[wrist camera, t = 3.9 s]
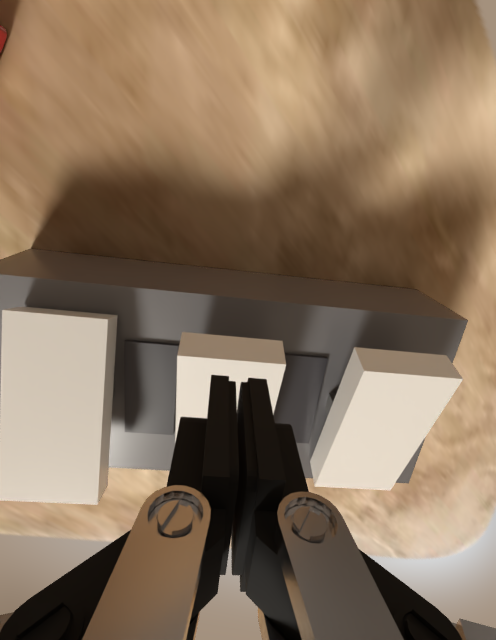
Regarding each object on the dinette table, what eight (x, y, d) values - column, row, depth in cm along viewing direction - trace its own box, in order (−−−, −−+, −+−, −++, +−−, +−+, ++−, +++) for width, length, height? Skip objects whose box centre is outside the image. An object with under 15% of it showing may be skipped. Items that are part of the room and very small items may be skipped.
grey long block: (-61, 239, 19) (-176, 264, 14) (416, 289, 22) (480, 327, 16) (-32, 399, 23) (-114, 469, 17) (375, 426, 25) (416, 496, 20)
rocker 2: (354, 347, 15) (364, 371, 14) (446, 355, 15) (463, 379, 14) (309, 461, 19) (314, 486, 18) (381, 465, 20) (390, 490, 19)
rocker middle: (182, 331, 14) (176, 358, 13) (282, 340, 15) (286, 367, 13) (178, 453, 19) (173, 482, 18) (254, 458, 19) (255, 486, 18)
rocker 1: (21, 306, 16) (2, 309, 14) (117, 315, 16) (108, 319, 14) (17, 481, 17) (-2, 500, 15) (107, 485, 17) (97, 504, 16)
